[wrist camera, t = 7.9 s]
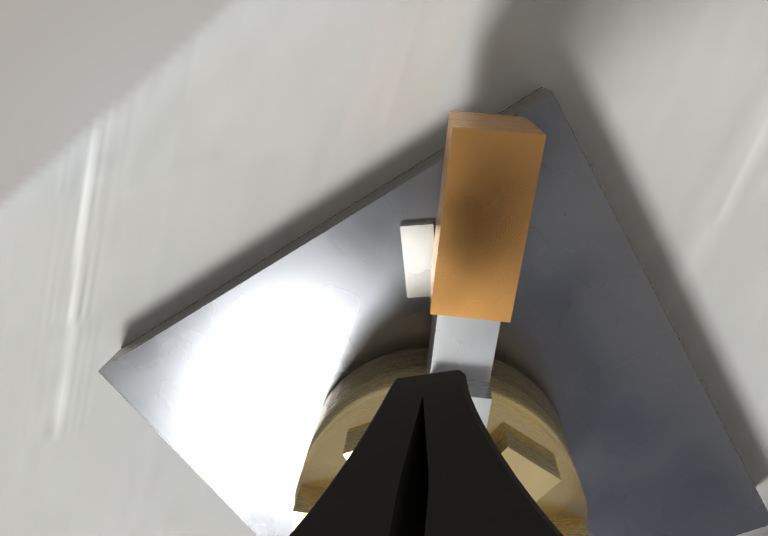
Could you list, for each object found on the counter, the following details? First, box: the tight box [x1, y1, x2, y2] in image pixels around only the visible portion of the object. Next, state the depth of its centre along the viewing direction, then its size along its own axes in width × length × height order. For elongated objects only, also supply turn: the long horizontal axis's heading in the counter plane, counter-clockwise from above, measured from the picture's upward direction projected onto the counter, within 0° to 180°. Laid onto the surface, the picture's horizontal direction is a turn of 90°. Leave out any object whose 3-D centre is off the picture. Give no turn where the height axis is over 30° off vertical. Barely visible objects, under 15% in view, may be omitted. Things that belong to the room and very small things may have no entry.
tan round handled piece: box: [293, 111, 589, 536], centre depth 16 cm, size 16×9×4 cm, turn 176°
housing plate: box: [99, 87, 768, 536], centre depth 20 cm, size 18×18×2 cm
